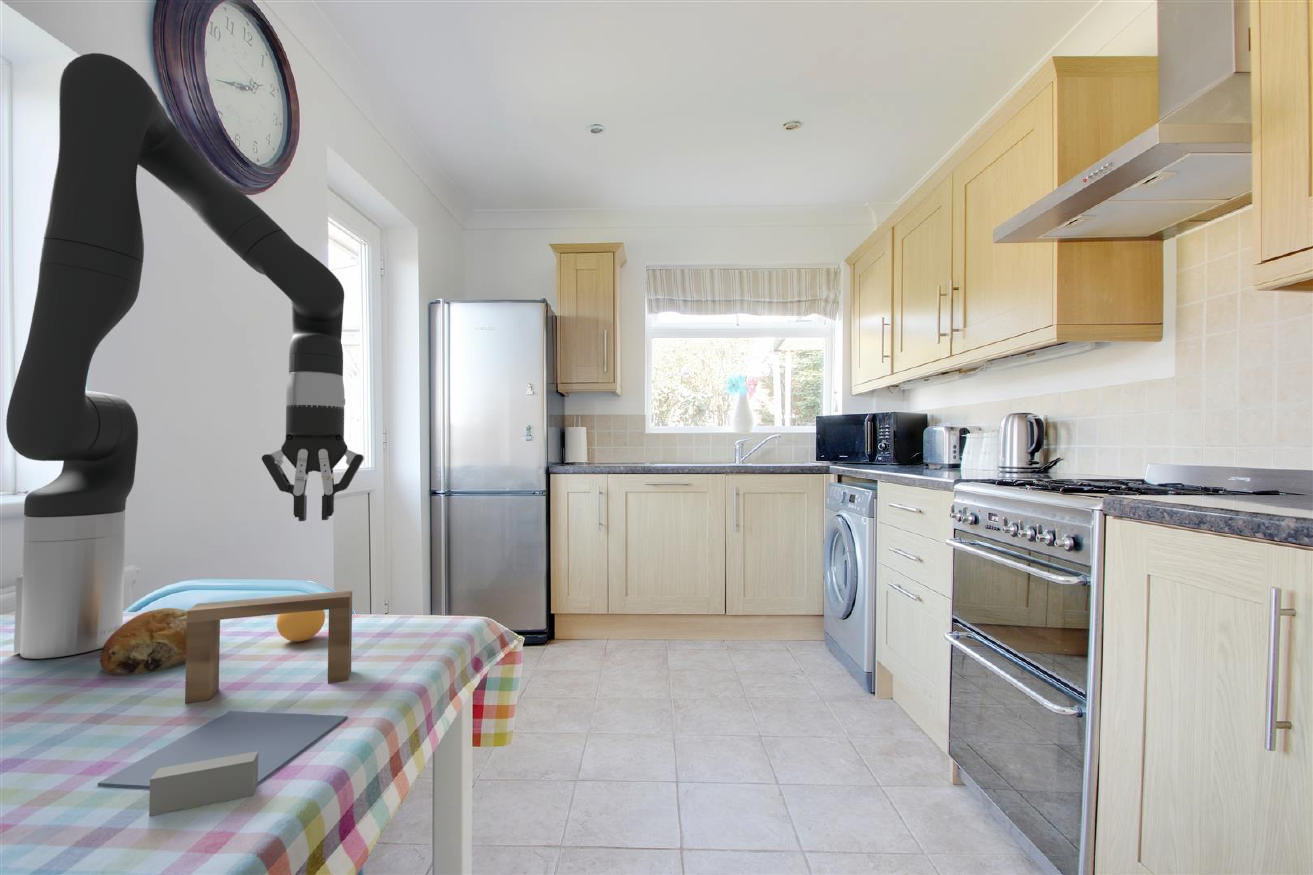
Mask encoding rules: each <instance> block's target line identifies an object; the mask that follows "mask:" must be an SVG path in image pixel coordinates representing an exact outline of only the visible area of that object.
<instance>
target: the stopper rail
mask: <svg viewBox="0 0 1313 875" xmlns="http://www.w3.org/2000/svg"><path fill="white" fill-rule="evenodd" d="M258 752H259V751H256V752H250V753H245V754H239V755H233V756H227V757H221V758H216V759H210V760H204V761H198V762H192V763H187V764H181V765H175V766H169V767H164V768H159V769H158V770H157V771H156V772H155V774H154V775H153V776H152V777H151V779H150V789H149V800H148V801H149V804H148V805H149V808H148V816H149V817H151V816H156V815H160V814H166V813H170V812H171V813H172V812H176V811H181V810H186V809H190V808H196V807H201V806H207V805H211V804H216V803H221V802H227V801H232V800H236V799H241V798H246V797H252V796H254V794H255V791H256V790H257V787H258V785H259V784H258Z"/></svg>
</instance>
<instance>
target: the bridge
mask: <svg viewBox="0 0 1313 875" xmlns="http://www.w3.org/2000/svg"><path fill="white" fill-rule="evenodd" d="M318 610H324V611H326V610H328V630H327V631H328V633H327V634H328V635H327V636H328V637H327V638H328V639H327V640H328V641H327V642H328V643H327V644H328V645H327V647H328V648H327V652H328V653H327V684H332V683H338V682H346V681H349V679H350V677H351V672H352V641H353V640H352V637H353V636H352V635H353V633H352V632H353V630H352V629H353V627H352V625H353V590H344V591H343V590H341V591H331V592H329V591H328V592H319V593H318V592H317V593H307V594H296V595H295V594H294V595H284V596H273V597H260V598H259V597H258V598H249V599H236V600H224V601H222V600H221V601H215V602H201V603H200V602H199V603H197V604H195V605H194V606H192V607H191V608H189V609H187V610H186V611H187V634H186V663H185V686H184V688H185V691H184V696H185V697H184V704H188V703H194V702H203V701H208V700H209V701H210V700H211V699H212V697H213V696H214V695H215V694H216V693H217V692H218V690H219V689H220V654H221V653H220V652H221V651H220V649H221V648H220V645H221V642H220V641H221V638H220V637H221V620H230V619H232V620H233V619H242V618H251V617H252V618H253V617H254V618H255V617H263V616H264V617H265V616H271V615H272V616H274V615H279V614H286V613H297V612H307V611H318Z"/></svg>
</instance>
